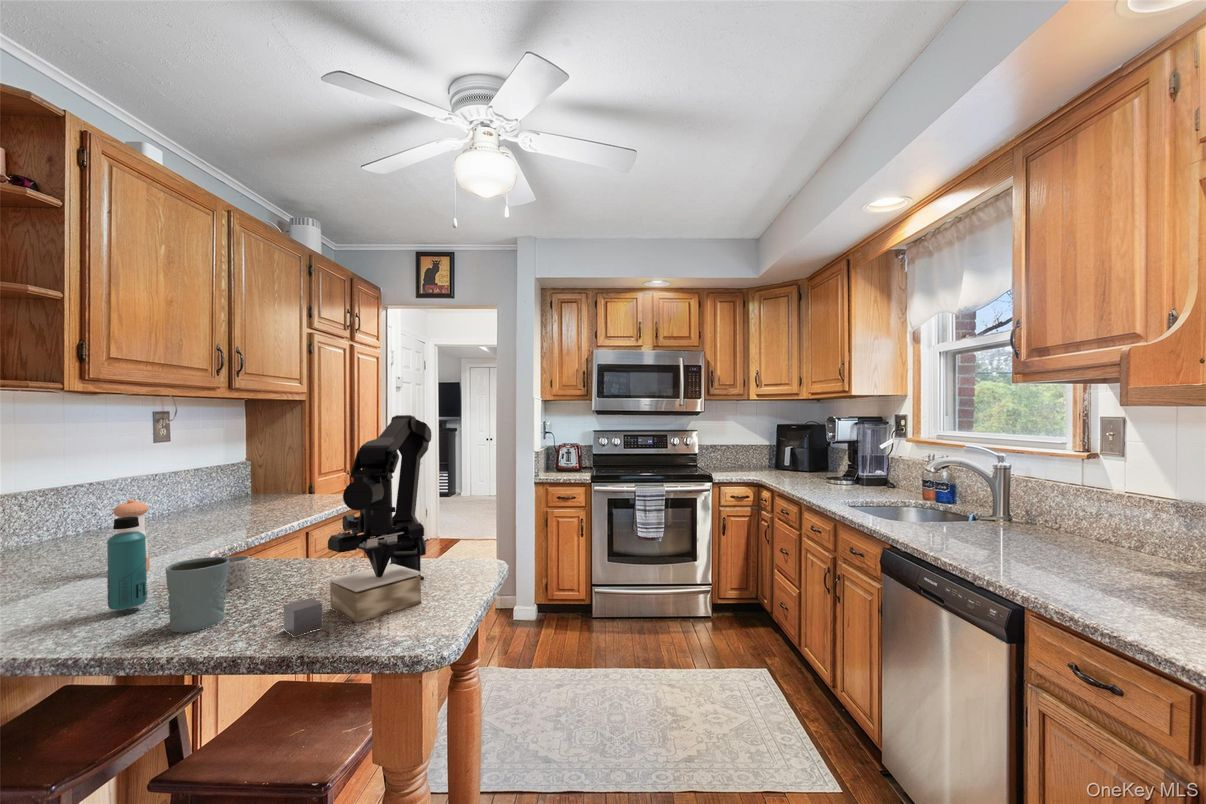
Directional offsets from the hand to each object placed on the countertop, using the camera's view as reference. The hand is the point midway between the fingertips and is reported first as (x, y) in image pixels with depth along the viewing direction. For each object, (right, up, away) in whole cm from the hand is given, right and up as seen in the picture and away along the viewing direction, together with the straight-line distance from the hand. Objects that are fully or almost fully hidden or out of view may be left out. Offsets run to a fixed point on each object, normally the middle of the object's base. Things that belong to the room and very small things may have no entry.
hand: (379, 576), depth 115 cm
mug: (-42, -8, +14) cm, 45 cm away
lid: (-1, -1, +1) cm, 2 cm away
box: (-1, -7, +1) cm, 7 cm away
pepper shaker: (-78, -8, +29) cm, 83 cm away
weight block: (-10, -7, -11) cm, 16 cm away
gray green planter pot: (-33, -7, -7) cm, 35 cm away
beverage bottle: (-53, -8, 0) cm, 54 cm away
